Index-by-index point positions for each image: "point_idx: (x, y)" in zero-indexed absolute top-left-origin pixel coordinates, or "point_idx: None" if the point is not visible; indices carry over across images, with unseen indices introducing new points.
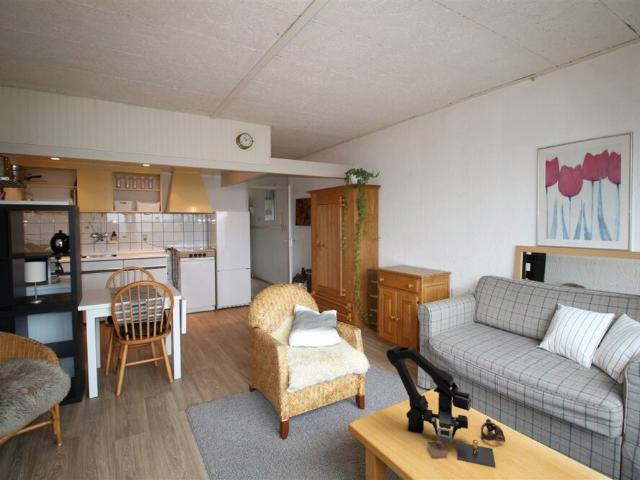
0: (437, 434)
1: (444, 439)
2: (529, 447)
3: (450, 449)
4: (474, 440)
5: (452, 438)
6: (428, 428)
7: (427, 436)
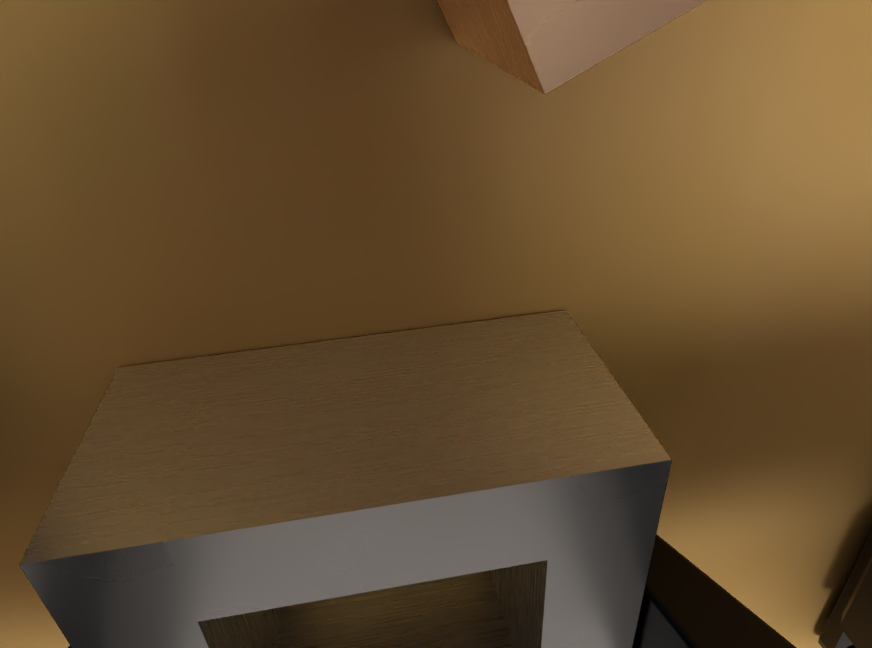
0: None
1: (368, 422)
2: None
3: (76, 87)
4: None
5: None
6: None
7: (799, 409)
